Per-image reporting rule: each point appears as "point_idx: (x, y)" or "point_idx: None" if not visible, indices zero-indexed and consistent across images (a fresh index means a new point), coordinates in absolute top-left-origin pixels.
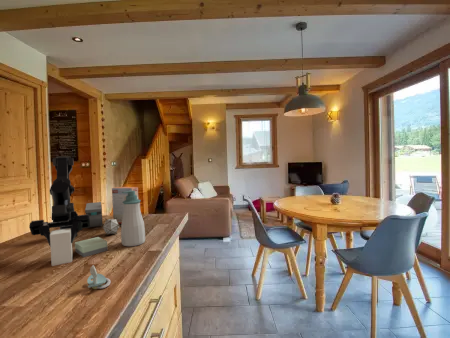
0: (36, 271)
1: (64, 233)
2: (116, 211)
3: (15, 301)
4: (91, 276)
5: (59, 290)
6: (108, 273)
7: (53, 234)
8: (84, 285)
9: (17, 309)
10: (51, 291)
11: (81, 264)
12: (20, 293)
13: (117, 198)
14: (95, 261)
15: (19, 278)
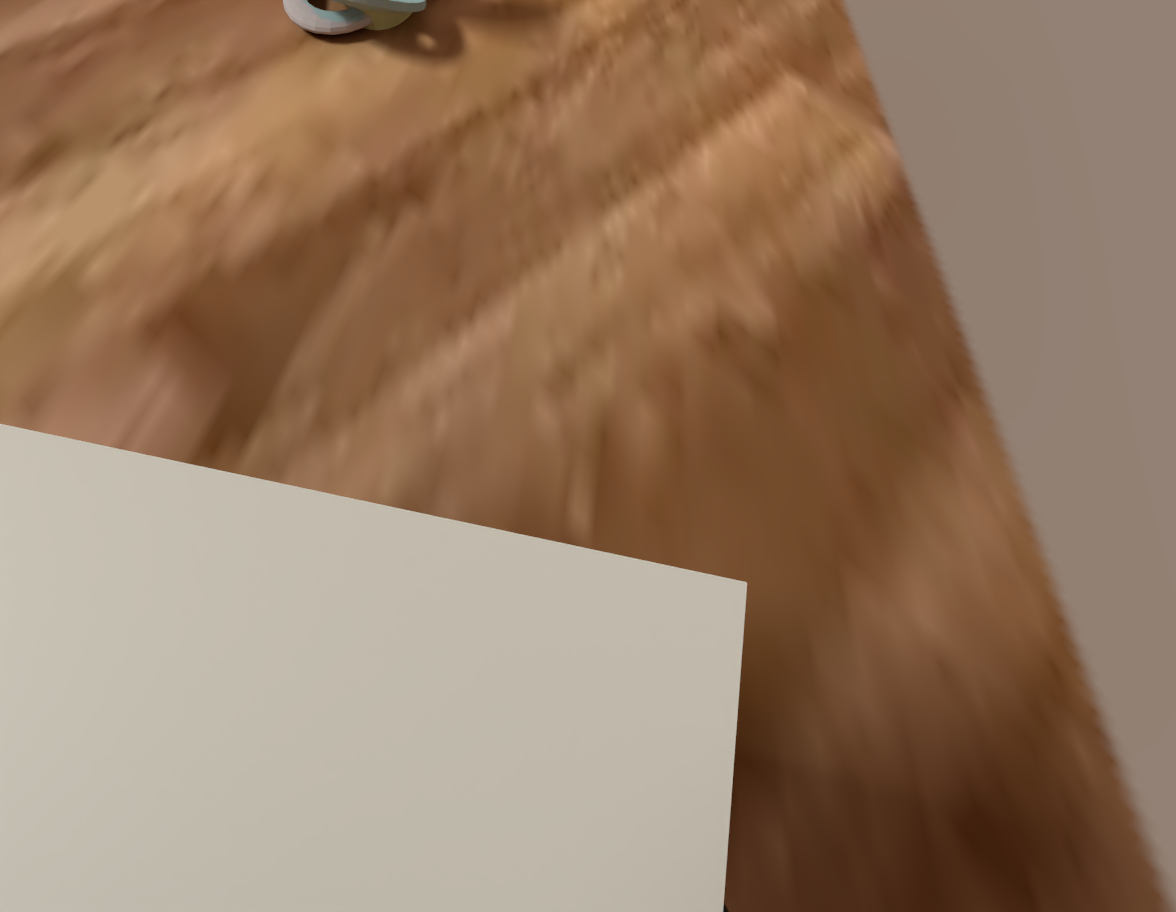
0: (770, 643)
1: (157, 474)
2: None
3: (842, 142)
4: (378, 2)
5: (595, 95)
6: (219, 88)
7: (596, 556)
8: (443, 51)
9: (811, 60)
10: (642, 115)
11: (278, 457)
12: (835, 221)
13: None
14: (110, 427)
15: (919, 550)
